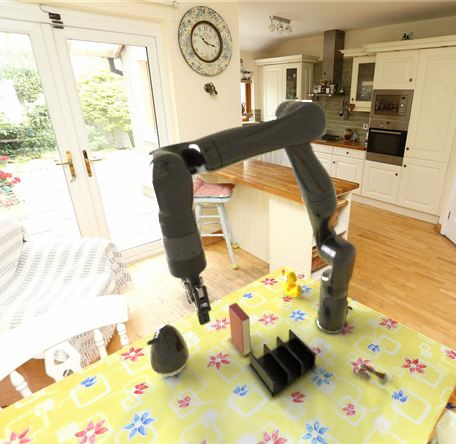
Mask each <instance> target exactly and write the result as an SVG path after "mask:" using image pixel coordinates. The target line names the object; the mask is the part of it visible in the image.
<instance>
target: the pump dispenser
mask: <svg viewBox="0 0 456 444" xmlns="http://www.w3.org/2000/svg"><path fill="white" fill-rule="evenodd" d="M146 345H147V346H150V350H149V360H150V366H151V368H152V370H153V371H154V372H155V373H156V374H157V375H159V376H161V377H166V378H167V377H169V378H170V377H173V376H175V375H178V374H179V373H180V372H182V371H183V370H184V369H185V367H186V365H187V364H188V360H189V357H190V351H189V347H188V344H187V342H186V339H185V338H184V335H183V334H182V333H181V332H180V331H179V330H178V328H177V327H175V326H174V325H172V324H169V323H167V324H162V325H160V326H159V327H158V328H157V329H156V330H155V332H154V334H153V336H152V338H151V339H149V340H147V341H146Z"/></svg>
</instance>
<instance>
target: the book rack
mask: <svg viewBox="0 0 456 444" xmlns="http://www.w3.org/2000/svg"><path fill="white" fill-rule="evenodd" d="M275 338H276V340H275V343H276V344H275V345H276V347H275V348H274V349H270V348H269V347H268V345H267V344H266V343H263V344H262V346H263V347H262V349H263V352H262V353H263V355H262V356H260V357H258V358H257V357H256V356H255V355H254V353H253V352H252V351H251V352H249V354H248V355H249V356H248V357H249V364H248V368H250V370H251V371H252V372H253V374H254V375H255V377H256V378H257V379H258V381H259V382H260V383H261V384H262V386H263V387H264V389H265V390H266V391H267V393H268V395H270V397H271V398H274V397H275V396H277V395H278V394H280V393H281V392H282V391H284V390H285V389H287V388H288V387H290V386H291V385H292V384H294V383H295V382H297V381H299V379H301V378H302V377H305V376H306V375H307V374H308V373H310V372H311V371H312V370H314V369H316V367H317V365H316V359H317V358H316V357H317V354H316V353H315V351H313V350H312V349H311V348H310V347H309V346H308V345H307V344H306V343H305V341H303V340H302V339H301V338H300V337H299V336H298V335H297V334H296V333H295V332H293V330H292V329H288V340H287V341H286V342H284V341H283V340H282V339H281V338H280V337H279V336H276V337H275Z"/></svg>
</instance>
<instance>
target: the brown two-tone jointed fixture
mask: <svg viewBox="0 0 456 444" xmlns="http://www.w3.org/2000/svg"><path fill="white" fill-rule="evenodd" d="M365 371H367V373H366V372H365ZM369 373H370V374H371V375H373V376H376V377H378V378H379V379H381V382H382V383H383V382H385V381H386V380H387V379H388V378H387V373H386V372H380V371H376V370H375V369H373V368H372V367H370V366H367V364H366V363H365V364H364V363H363V362H362V363H359V369H357V370H356V372H355V375H356V376H358V375H361V376H362V377H363V378H365V379H367V378H369V377H370V376H369Z"/></svg>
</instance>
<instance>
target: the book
mask: <svg viewBox="0 0 456 444" xmlns="http://www.w3.org/2000/svg"><path fill="white" fill-rule="evenodd" d="M228 315H229V317H228V318H229V325H230V326H229V328H230V329H229V330H230V339H231V342H232V343H233V344H234V346H235V347H236V348H237V350H238V351H239V352H240V354H241V355H242V356H243V357H245V356H247V355H249V352H252V348H251V347H252V346H251V345H252V344H251V330H250V329H251V325H250V316H249V315H248V314H247V313H246V312H245V311H244V309H243V308H242V307H241V306H240V305H239V304H238V303H237V302H234V303H231V304H230V305H228Z"/></svg>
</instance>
